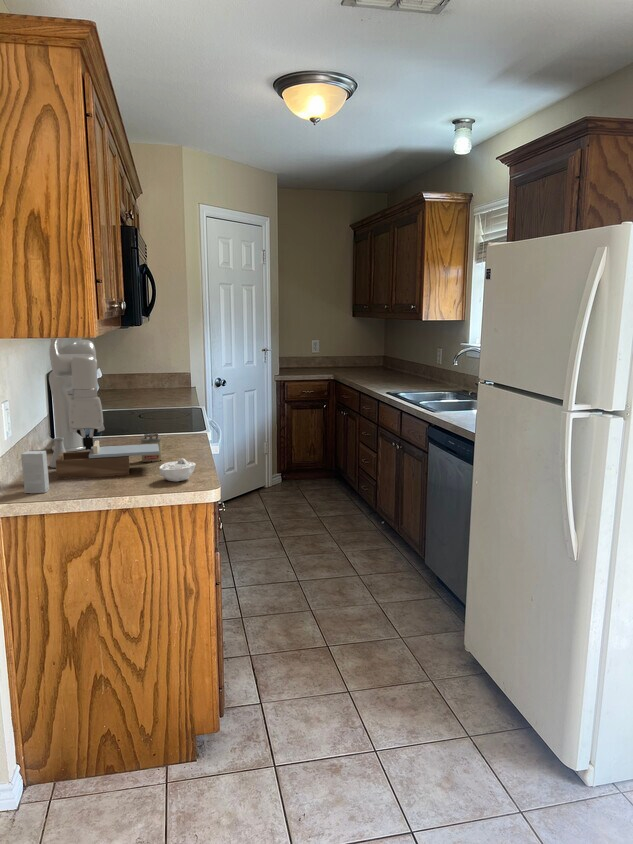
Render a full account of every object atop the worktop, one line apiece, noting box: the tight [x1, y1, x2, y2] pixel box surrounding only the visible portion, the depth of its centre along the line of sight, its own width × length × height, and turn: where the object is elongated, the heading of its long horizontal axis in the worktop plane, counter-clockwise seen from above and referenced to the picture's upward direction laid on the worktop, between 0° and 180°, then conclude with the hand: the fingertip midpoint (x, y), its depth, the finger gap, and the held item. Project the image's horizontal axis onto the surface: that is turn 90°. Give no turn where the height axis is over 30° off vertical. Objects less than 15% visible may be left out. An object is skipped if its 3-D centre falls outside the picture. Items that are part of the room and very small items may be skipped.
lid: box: [89, 440, 159, 458], centre depth 208 cm, size 13×22×4 cm, turn 106°
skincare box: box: [20, 450, 50, 494], centre depth 183 cm, size 6×4×12 cm
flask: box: [49, 437, 66, 469], centre depth 215 cm, size 7×7×10 cm
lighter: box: [140, 432, 163, 463], centre depth 223 cm, size 7×4×10 cm, turn 106°
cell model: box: [158, 457, 196, 482], centre depth 196 cm, size 10×12×7 cm
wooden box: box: [55, 450, 130, 480], centre depth 206 cm, size 13×22×6 cm, turn 106°
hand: (88, 448), depth 205 cm, fingers closed
